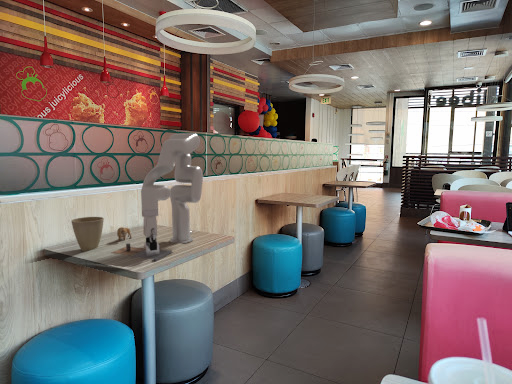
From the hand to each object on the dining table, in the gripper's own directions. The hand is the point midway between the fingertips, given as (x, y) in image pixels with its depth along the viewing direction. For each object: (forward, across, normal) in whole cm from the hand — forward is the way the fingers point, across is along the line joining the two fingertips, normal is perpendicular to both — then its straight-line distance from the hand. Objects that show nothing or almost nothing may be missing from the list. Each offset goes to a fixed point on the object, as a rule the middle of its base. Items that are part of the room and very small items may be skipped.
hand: (151, 247), depth 167 cm
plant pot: (+4, -26, -26) cm, 37 cm away
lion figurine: (+4, -36, -8) cm, 37 cm away
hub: (+4, 0, 0) cm, 4 cm away
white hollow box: (+3, 0, 0) cm, 3 cm away
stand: (+4, -11, -9) cm, 15 cm away
